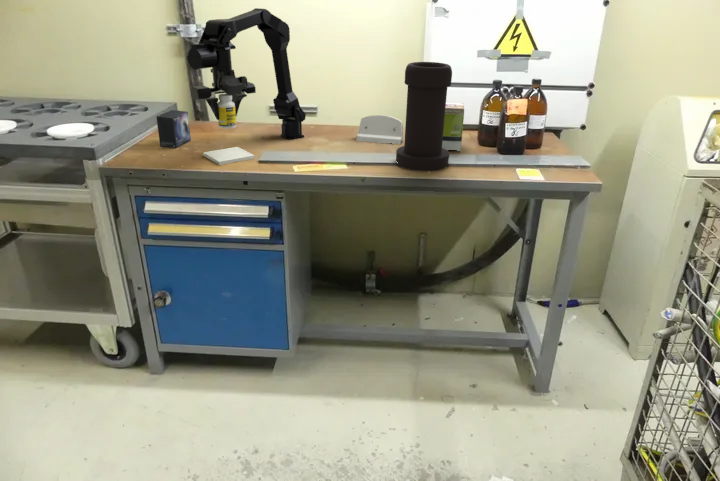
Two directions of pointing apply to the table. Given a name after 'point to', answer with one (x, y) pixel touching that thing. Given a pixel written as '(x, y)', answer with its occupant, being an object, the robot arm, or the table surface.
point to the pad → (228, 155)
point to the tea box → (453, 126)
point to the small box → (173, 129)
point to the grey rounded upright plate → (380, 129)
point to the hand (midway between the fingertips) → (226, 118)
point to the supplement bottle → (226, 112)
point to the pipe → (425, 117)
